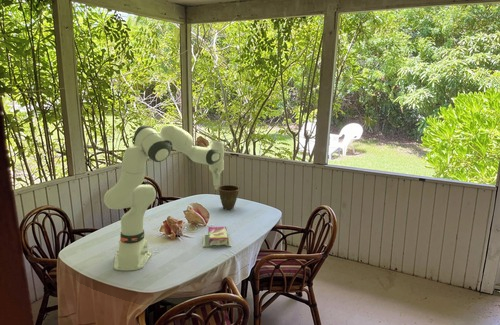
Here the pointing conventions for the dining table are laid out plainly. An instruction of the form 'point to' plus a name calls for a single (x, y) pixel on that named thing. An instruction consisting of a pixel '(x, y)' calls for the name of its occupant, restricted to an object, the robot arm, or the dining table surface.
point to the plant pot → (228, 196)
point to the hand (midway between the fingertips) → (216, 189)
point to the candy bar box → (217, 236)
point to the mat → (206, 244)
